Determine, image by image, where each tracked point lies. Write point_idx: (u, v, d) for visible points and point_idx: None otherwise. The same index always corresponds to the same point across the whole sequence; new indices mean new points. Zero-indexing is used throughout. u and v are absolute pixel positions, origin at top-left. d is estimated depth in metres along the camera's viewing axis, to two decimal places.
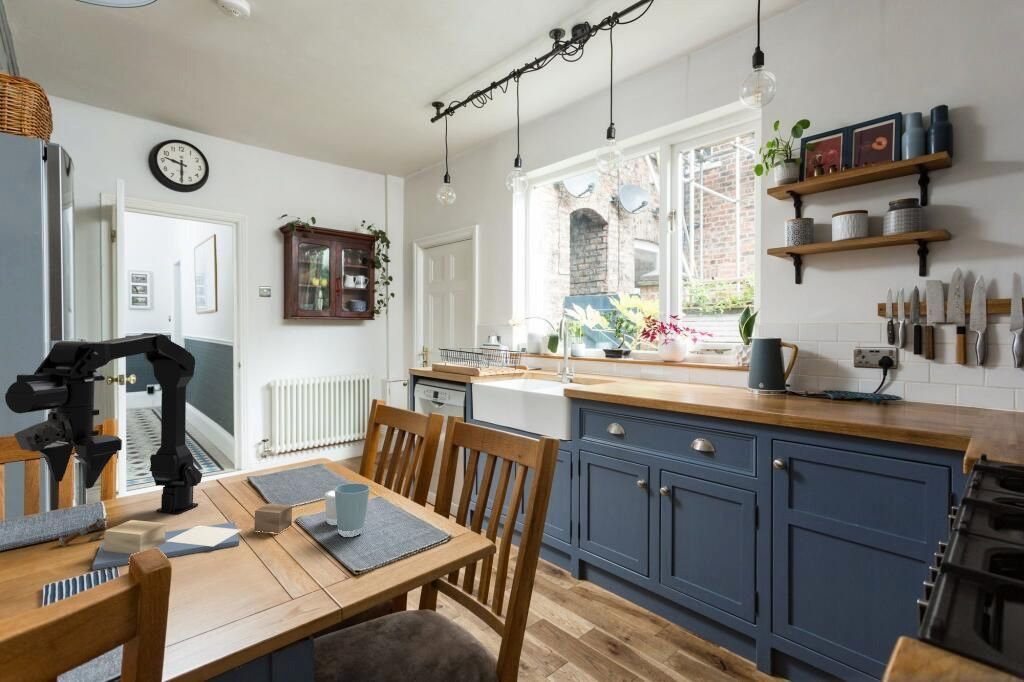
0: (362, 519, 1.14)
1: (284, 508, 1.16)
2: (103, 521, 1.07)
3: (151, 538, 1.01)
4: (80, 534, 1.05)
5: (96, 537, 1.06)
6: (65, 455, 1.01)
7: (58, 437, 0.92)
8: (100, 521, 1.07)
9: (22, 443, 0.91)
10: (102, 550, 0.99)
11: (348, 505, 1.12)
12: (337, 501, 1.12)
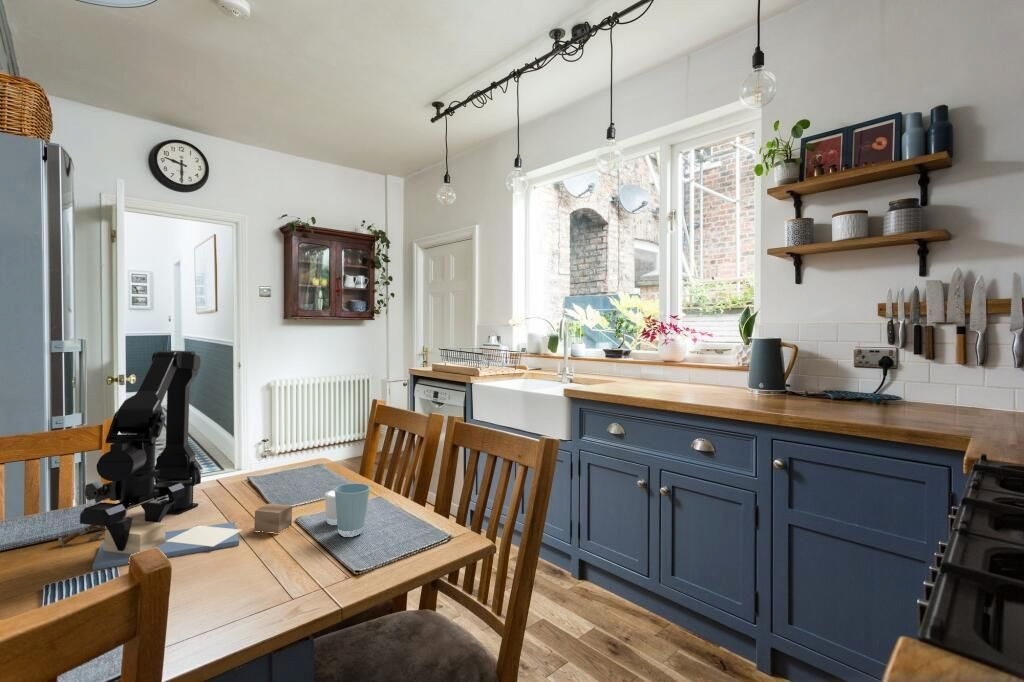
0: (362, 519, 1.14)
1: (284, 508, 1.16)
2: None
3: (151, 538, 1.01)
4: (79, 534, 1.05)
5: (95, 537, 1.06)
6: (156, 514, 1.05)
7: (95, 495, 0.98)
8: None
9: None
10: (102, 550, 0.99)
11: (348, 505, 1.12)
12: (337, 501, 1.12)
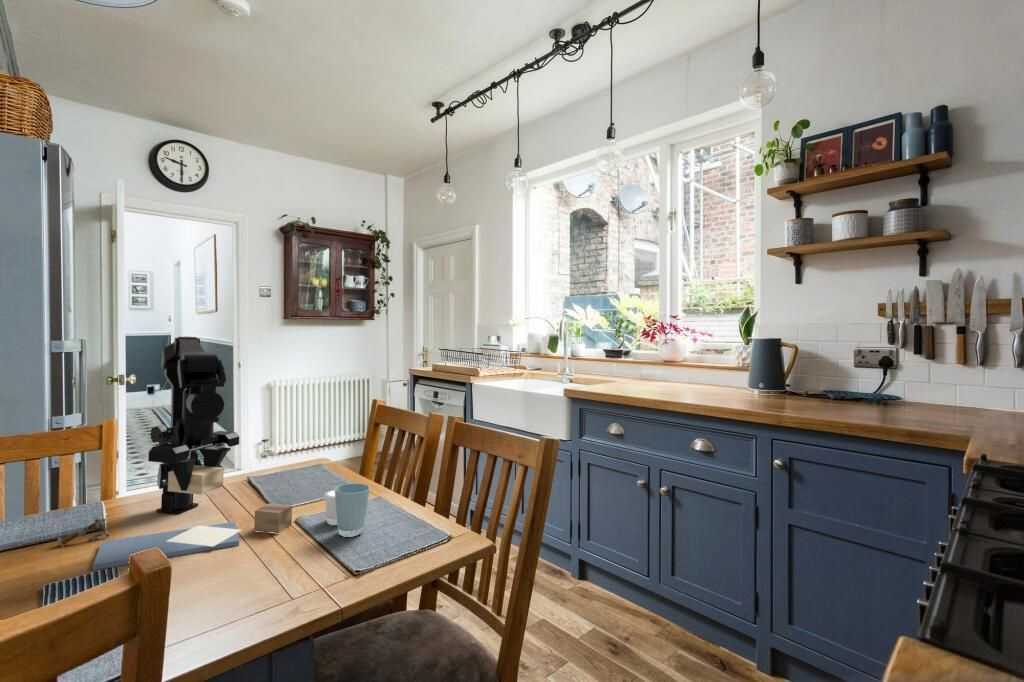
0: (362, 519, 1.14)
1: (284, 508, 1.16)
2: (102, 521, 1.07)
3: (211, 480, 1.06)
4: (78, 534, 1.04)
5: (94, 537, 1.06)
6: (214, 459, 1.10)
7: (160, 438, 1.04)
8: (99, 521, 1.06)
9: None
10: (102, 550, 0.99)
11: (348, 505, 1.12)
12: (337, 501, 1.12)
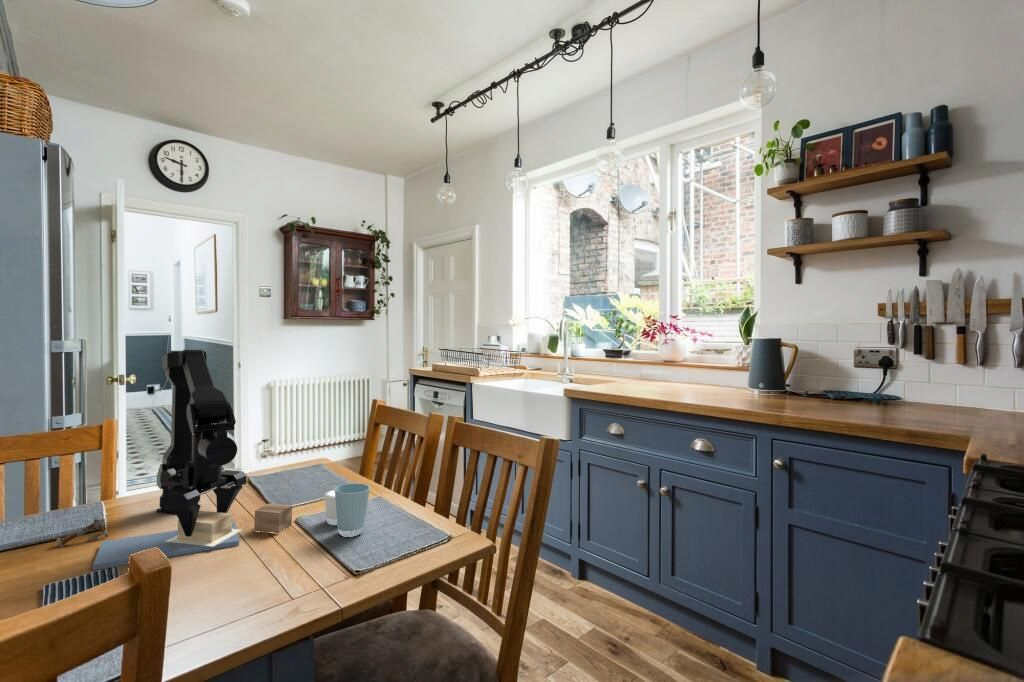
0: (362, 519, 1.14)
1: (284, 508, 1.16)
2: (101, 522, 1.07)
3: (220, 527, 1.07)
4: (78, 535, 1.04)
5: (94, 538, 1.06)
6: (227, 498, 1.13)
7: (170, 482, 1.05)
8: (98, 522, 1.06)
9: None
10: (102, 550, 0.99)
11: (348, 505, 1.12)
12: (337, 501, 1.12)
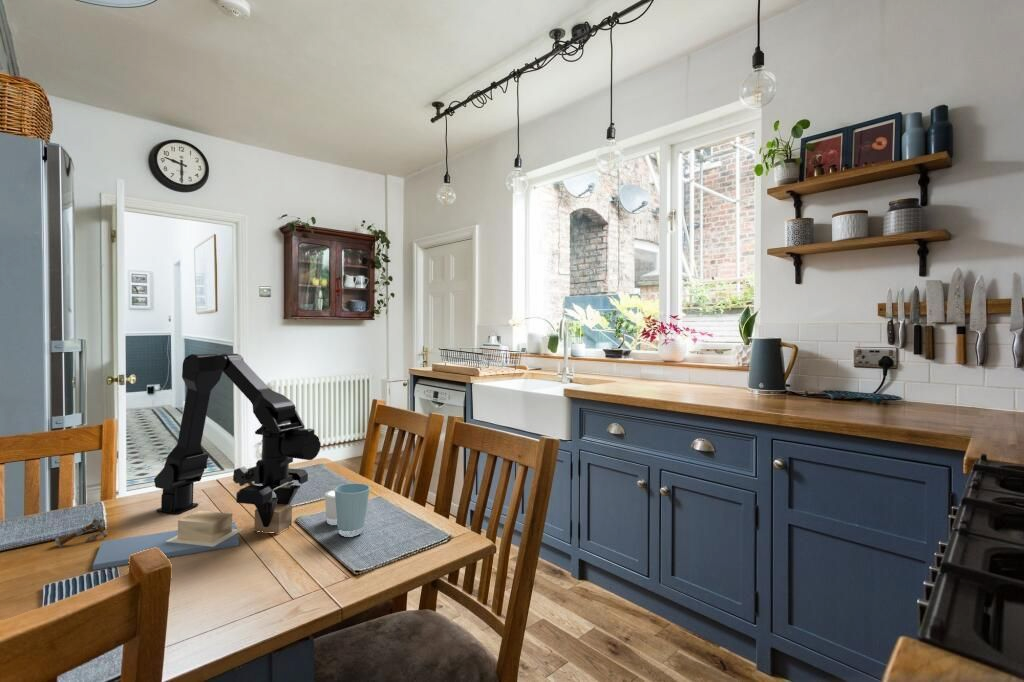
0: (362, 519, 1.14)
1: (284, 507, 1.16)
2: (99, 522, 1.06)
3: (220, 527, 1.07)
4: (76, 535, 1.04)
5: (92, 538, 1.06)
6: (286, 497, 1.18)
7: (242, 479, 1.12)
8: (96, 522, 1.06)
9: None
10: (102, 550, 0.99)
11: (348, 505, 1.12)
12: (337, 501, 1.12)
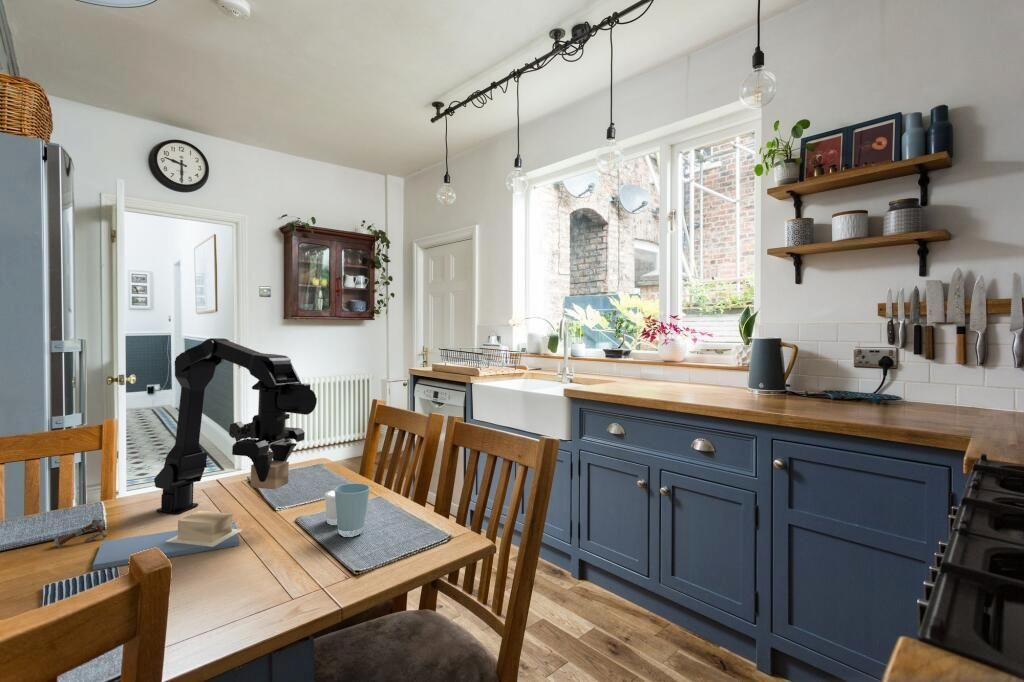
0: (362, 519, 1.14)
1: (281, 463, 1.15)
2: (99, 522, 1.06)
3: (220, 527, 1.07)
4: (75, 535, 1.04)
5: (92, 538, 1.06)
6: (283, 454, 1.18)
7: (238, 433, 1.11)
8: (96, 522, 1.06)
9: None
10: (102, 550, 0.99)
11: (348, 505, 1.12)
12: (337, 501, 1.12)
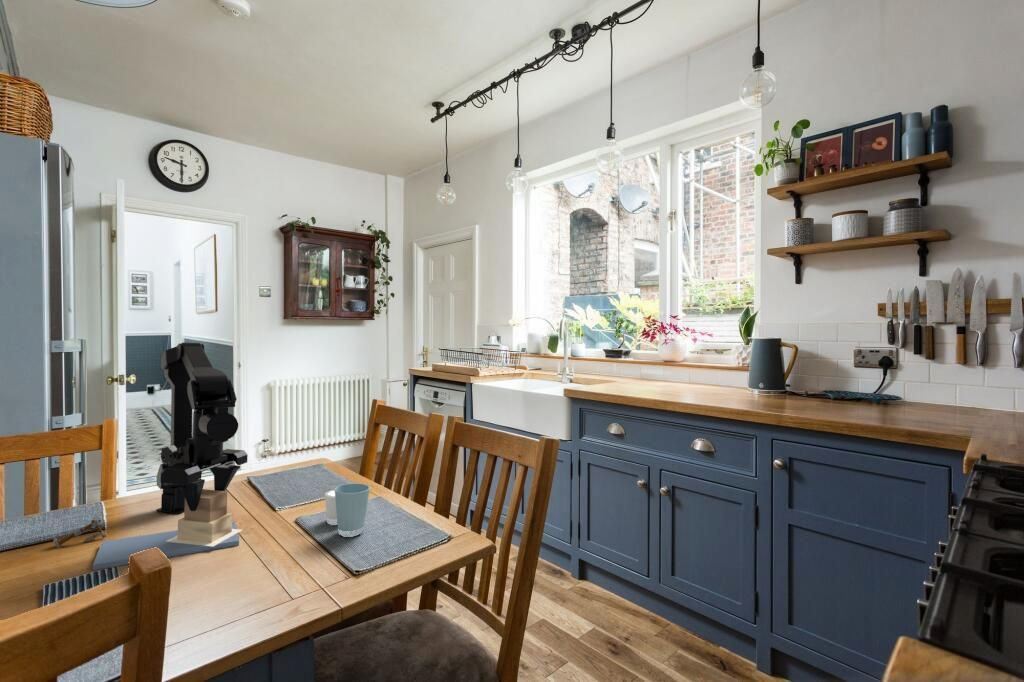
0: (362, 519, 1.14)
1: (217, 494, 1.08)
2: (98, 522, 1.06)
3: (220, 527, 1.07)
4: (75, 535, 1.04)
5: (91, 538, 1.06)
6: (225, 477, 1.12)
7: (170, 458, 1.05)
8: (95, 522, 1.06)
9: None
10: (102, 550, 0.99)
11: (348, 505, 1.12)
12: (337, 501, 1.12)
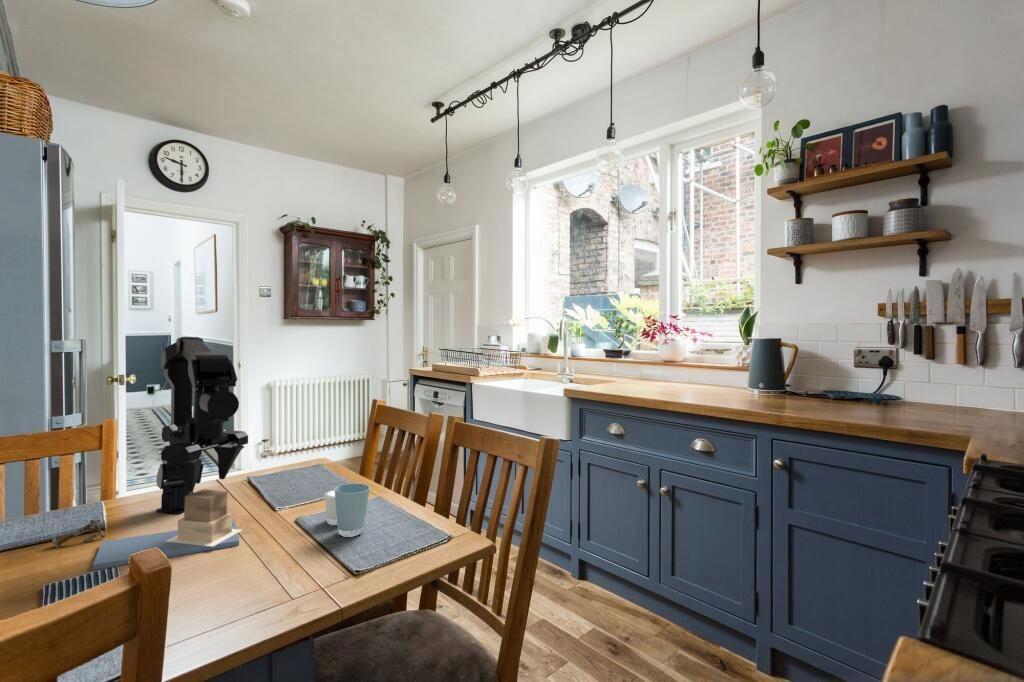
0: (362, 519, 1.14)
1: (217, 494, 1.08)
2: (97, 522, 1.06)
3: (220, 527, 1.07)
4: (74, 535, 1.04)
5: (90, 538, 1.06)
6: (228, 457, 1.13)
7: (171, 437, 1.05)
8: (94, 522, 1.06)
9: None
10: (102, 550, 0.99)
11: (348, 505, 1.12)
12: (337, 501, 1.12)
